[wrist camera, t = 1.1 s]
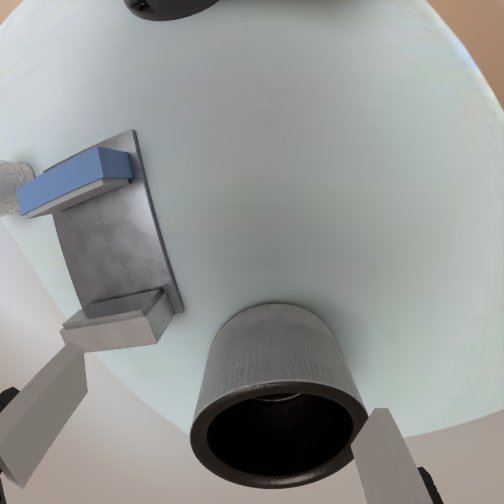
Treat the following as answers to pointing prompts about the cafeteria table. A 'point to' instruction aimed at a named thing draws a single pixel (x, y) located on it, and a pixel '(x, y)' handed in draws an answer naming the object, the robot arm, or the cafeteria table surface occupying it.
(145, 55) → the cafeteria table surface
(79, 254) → the vise bed
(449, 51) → the cafeteria table surface
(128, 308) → the fixed jaw
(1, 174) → the white cup
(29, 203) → the sliding jaw
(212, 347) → the planter
